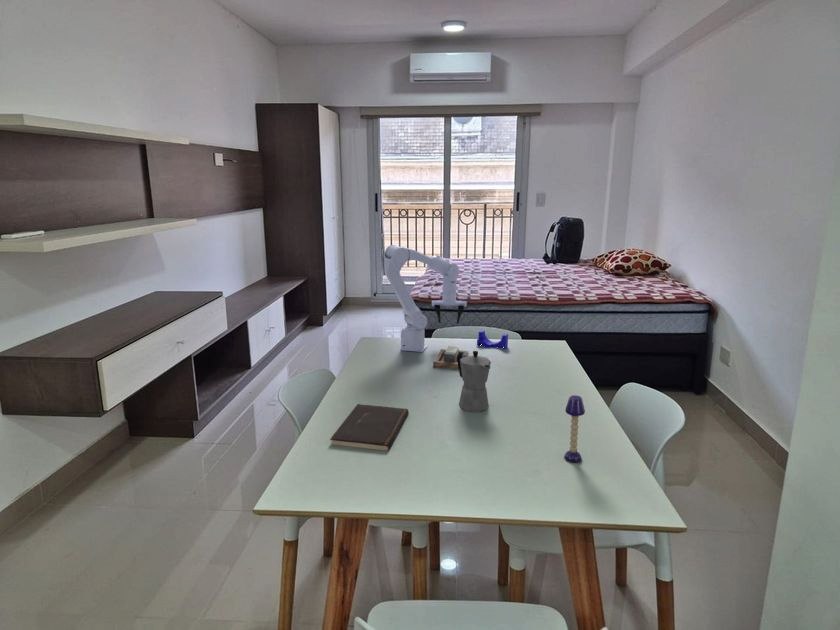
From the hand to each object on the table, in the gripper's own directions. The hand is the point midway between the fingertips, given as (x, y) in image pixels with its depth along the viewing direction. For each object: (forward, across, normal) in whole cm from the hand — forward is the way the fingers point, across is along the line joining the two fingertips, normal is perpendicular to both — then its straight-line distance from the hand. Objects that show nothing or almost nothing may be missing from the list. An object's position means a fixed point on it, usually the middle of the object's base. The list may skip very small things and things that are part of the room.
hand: (448, 322), depth 227 cm
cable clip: (+10, +18, -2) cm, 21 cm away
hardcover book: (+10, -21, -82) cm, 85 cm away
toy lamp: (+10, +31, -95) cm, 100 cm away
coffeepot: (+10, +7, -63) cm, 64 cm away
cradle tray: (+9, +1, -22) cm, 24 cm away
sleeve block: (+9, +1, -23) cm, 25 cm away
